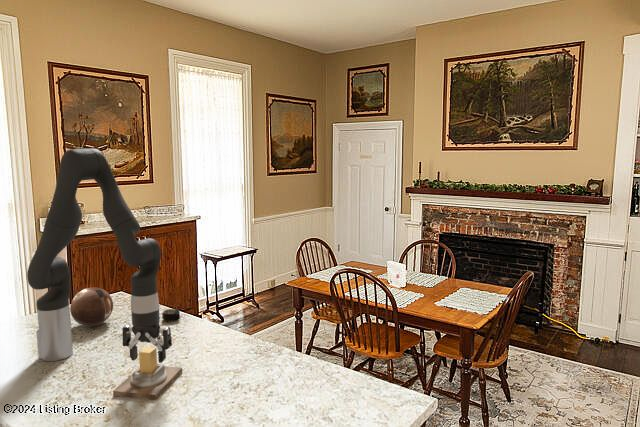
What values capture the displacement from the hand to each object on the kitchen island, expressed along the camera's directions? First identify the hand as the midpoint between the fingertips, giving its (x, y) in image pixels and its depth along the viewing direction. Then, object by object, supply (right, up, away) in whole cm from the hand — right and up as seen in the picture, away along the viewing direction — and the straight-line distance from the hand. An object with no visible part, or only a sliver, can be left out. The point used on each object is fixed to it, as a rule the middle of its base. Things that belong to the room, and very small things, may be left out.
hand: (148, 360), depth 135 cm
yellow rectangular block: (0, -5, +1) cm, 5 cm away
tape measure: (-9, 0, +52) cm, 52 cm away
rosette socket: (0, -7, +1) cm, 7 cm away
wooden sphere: (-38, -1, +45) cm, 59 cm away
